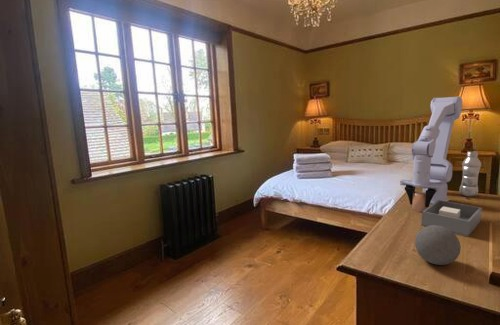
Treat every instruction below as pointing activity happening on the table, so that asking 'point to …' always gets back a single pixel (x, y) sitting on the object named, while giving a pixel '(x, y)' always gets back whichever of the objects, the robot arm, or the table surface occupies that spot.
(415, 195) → the brown egg
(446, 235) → the decorative ball
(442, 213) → the cube
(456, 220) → the box
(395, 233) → the table surface
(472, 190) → the plastic bottle
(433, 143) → the robot arm
